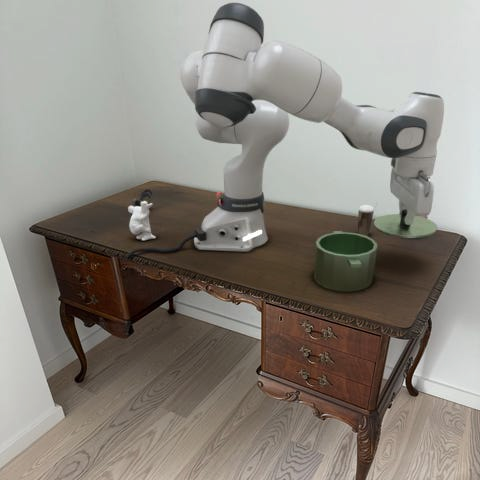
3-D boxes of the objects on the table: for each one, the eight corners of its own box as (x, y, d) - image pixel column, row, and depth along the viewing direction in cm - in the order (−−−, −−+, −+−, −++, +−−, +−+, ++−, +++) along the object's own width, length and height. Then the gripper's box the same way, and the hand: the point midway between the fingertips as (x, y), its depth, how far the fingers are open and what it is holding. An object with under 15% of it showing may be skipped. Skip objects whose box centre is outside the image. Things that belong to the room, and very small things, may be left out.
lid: (383, 241, 114) (385, 223, 112) (366, 219, 127) (368, 202, 125) (446, 239, 115) (450, 220, 112) (423, 217, 128) (426, 200, 125)
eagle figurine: (157, 209, 165) (157, 196, 172) (143, 194, 161) (144, 182, 167) (140, 220, 168) (141, 207, 174) (127, 206, 163) (128, 193, 170)
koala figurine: (162, 236, 146) (157, 199, 140) (149, 244, 141) (144, 205, 135) (140, 232, 150) (134, 195, 143) (127, 240, 144) (120, 202, 138)
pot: (321, 298, 111) (324, 262, 106) (308, 262, 128) (310, 229, 122) (382, 296, 111) (388, 259, 106) (361, 260, 128) (365, 227, 123)
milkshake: (373, 238, 141) (378, 205, 135) (355, 237, 142) (359, 205, 136) (373, 232, 144) (377, 200, 139) (355, 231, 145) (359, 200, 140)
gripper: (445, 177, 104) (433, 235, 111) (413, 155, 121) (404, 207, 128) (417, 178, 104) (406, 236, 111) (389, 156, 121) (381, 208, 128)
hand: (405, 220), depth 120 cm, fingers closed on lid, 2 cm apart
